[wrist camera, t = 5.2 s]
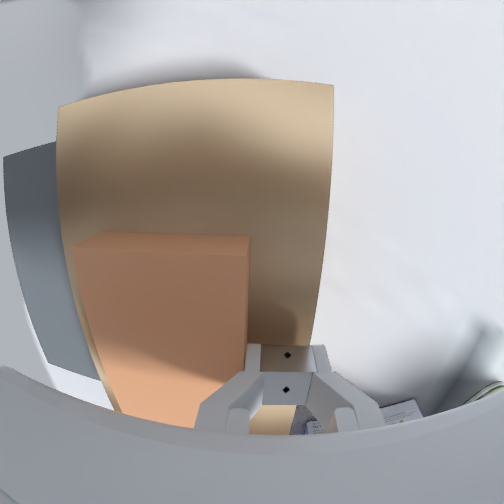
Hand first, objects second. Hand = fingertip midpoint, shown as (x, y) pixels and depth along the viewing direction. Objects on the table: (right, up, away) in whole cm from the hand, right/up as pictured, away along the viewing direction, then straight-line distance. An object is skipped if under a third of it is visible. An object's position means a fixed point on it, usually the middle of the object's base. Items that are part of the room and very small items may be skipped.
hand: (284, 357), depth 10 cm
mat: (-15, +2, +5) cm, 16 cm away
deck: (-4, +2, +5) cm, 7 cm away
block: (-4, +1, +1) cm, 5 cm away
